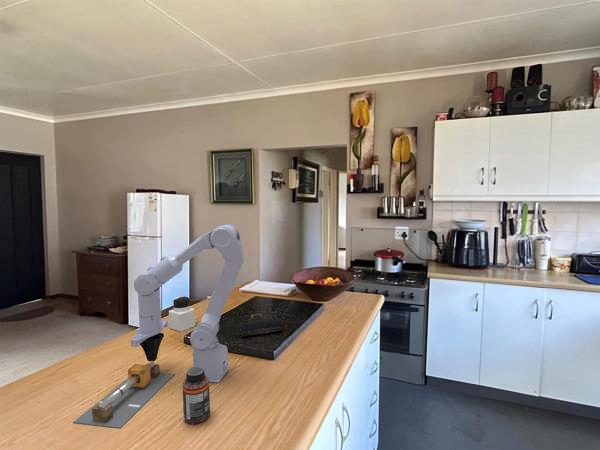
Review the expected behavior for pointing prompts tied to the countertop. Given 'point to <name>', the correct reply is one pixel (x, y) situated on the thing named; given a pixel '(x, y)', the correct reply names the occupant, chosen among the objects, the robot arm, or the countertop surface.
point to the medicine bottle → (181, 314)
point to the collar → (144, 374)
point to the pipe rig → (124, 400)
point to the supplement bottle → (196, 396)
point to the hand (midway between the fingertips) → (152, 360)
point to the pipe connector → (259, 323)
